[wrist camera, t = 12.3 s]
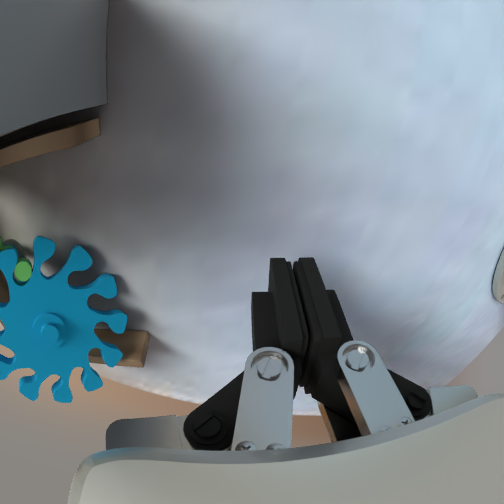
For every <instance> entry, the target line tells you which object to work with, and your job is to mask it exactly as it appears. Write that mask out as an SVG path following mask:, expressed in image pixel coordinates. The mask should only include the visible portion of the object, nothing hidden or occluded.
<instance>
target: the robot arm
mask: <svg viewBox="0 0 504 504" xmlns="http://www.w3.org/2000/svg"><path fill="white" fill-rule="evenodd" d="M492 291H493V294H494V296H495V297H496V299H497V300H498V301H499V302H500V303H504V250H503V252H502V254H501V256H500V259H499V262H498V264H497V267H496V271H495V274H494V279H493V290H492ZM251 315H252V340H253V352H252V353H251V354H250V355H249V357H248V358H247V361H246V364H245V370H244V371H243V372H242V373H241V374H239V375H238V376H237V377H236V378H235V379H233V380H232V381H231V382H230V383H228V384H227V385H226V386H225V387H223V388H222V389H221V390H220V391H218V392H217V393H216V394H215V395H213V396H212V397H211V398H209V399H208V400H207V401H206V402H204V403H203V404H202V405H200V406H199V407H198V408H196V409H195V410H194V411H193V412H191V413H190V414H189V415H186V416H178V417H176V415H169V416H159V417H149V418H136V419H121V420H117V421H115V422H113V423H112V424H110V426H109V427H108V429H107V431H106V451H101V452H98V453H95V454H92V455H90V456H88V457H87V458H85V459H84V460H83V461H82V462H81V464H80V465H79V467H78V469H77V471H76V473H75V475H74V478H73V481H72V485H71V488H70V493H69V498H68V504H504V394H489V395H484V396H481V397H478V395H477V393H476V391H475V390H474V389H473V388H472V387H470V386H469V385H459V386H447V387H431V388H429V389H428V390H425V389H424V388H422V387H421V386H419V385H417V384H415V383H413V382H411V381H409V380H407V379H405V378H404V377H402V376H400V375H398V374H396V373H394V372H392V371H391V370H389V369H387V368H386V366H385V365H384V363H383V361H382V359H381V358H380V356H379V354H378V352H377V351H376V350H375V349H374V347H372V346H371V345H370V344H368V343H366V342H363V341H357V340H355V341H353V338H352V335H351V332H350V329H349V327H348V324H347V321H346V319H345V316H344V313H343V311H342V308H341V305H340V303H339V300H338V298H337V295H336V293H335V291H334V290H326V289H325V286H324V283H323V281H322V278H321V275H320V273H319V270H318V267H317V265H316V262H315V259H314V258H299V260H298V261H294V263H293V269H292V266H291V262H286V260H285V258H271V259H270V270H269V286H268V292H252V303H251ZM298 385H299V386H300V387H304V390H305V394H310V393H311V395H312V398H314V399H316V400H317V401H318V407H319V410H320V412H321V415H322V418H323V421H324V423H325V426H326V429H327V431H328V434H329V437H330V440H331V442H332V443H326V444H320V445H313V446H306V447H296V448H291V433H292V432H291V431H292V413H293V400H294V398H295V395H296V392H297V388H298Z"/></svg>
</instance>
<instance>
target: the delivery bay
mask: <svg viewBox="0 0 504 504" xmlns="http://www.w3.org/2000/svg"><path fill="white" fill-rule="evenodd" d="M98 135H100V126H99V118H97V119H92V120H88V121H83V122H79V123H75V124H71V125H67V126H63V127H60V128H56V129H53V130H49V131H46V132H43V133H39V134H36V135H33V136H30V137H27V138H24V139H22V140H19V141H16V142H13V143H11V144H8V145H5V146H3V147H0V167H2V166H5V165H8V164H11V163H14V162H18V161H21V160H24V159H28V158H31V157H35V156H38V155H42V154H46V153H50V152H54V151H58V150H62V149H66V148H71V147H75V146H77V145H79V144H81V143H83V142H85V141H87V140H89V139H92V138H94V137H96V136H98ZM9 300H10V295H9V287H8V283H7V280H6V278H5V275H4V274H3V272H2V270H1V269H0V302H1V303H7V302H8V301H9ZM0 322H1V323H2V325H3V327H4V328H5V326H4V324H3V322H2V321H1V319H0ZM94 333H95V334H96V335H97V337H98V338H100V339H101V340H102V341H104V342H107V343H111V344H114V345H116V346H117V347H118V349H119V350H120V351H121V352H122V354H123V356H122V358H121V359H120V361H119V362H118V363H117V364H116V365H118V366H130V367H144V364H145V359H146V353H147V348H148V343H149V336H148V333H147V331H128V330H125V331H124V332H123V333H121V334H118V333H115V332H113V331H112V330H108V329H94ZM88 359H89V362H90V363H99V364H106V363H105V362H104V360H103V359H102V357H101V354H100V349H99V348H93V349H91V350H90V351H89V353H88Z"/></svg>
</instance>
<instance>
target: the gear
mask: <svg viewBox="0 0 504 504" xmlns="http://www.w3.org/2000/svg"><path fill="white" fill-rule="evenodd" d="M33 251H34V265H33V269H32V265H31V262H30V261H29V260H28V259H27V258H26V257H25V255H24V253H23V250H22V248H21V246H20V244H19V243H18V242H17V241H15V240H13V239H7V240H5V241H4V242H2V240H1V237H0V269H1V270H2V272H3V274H4V275H5V278H6V280H7V283H8V287H9V295H10V300H9V301H8V302H7V303H1V302H0V319H1V321H2V322H3V324H4V326H5V329H4V330H3V331H0V344H1V345H3V346H5V347H7V348H9V349H11V350H12V351H13V352H14V354H15V356H14V357H12V358H7V357H5V356H3V355H1V354H0V380H3V379H5V378H6V377H7V376H8V374H10V373H11V372H12V371H14V370H16V369H20V368H31V369H33V370H34V371H35V374H34V375H32V376H25V377H22V378H21V379H20V380H19V391H20V392H21V393H22V394H23V395H24V396H25V397H27V398H28V399H30V400H32V401H34V400H36V399H37V398H38V391H39V387H40V385H41V383H42V382H43V381H44V380H45V379H46V378H47V377H49V376H50V375H52V374H56V375H59V376H60V379H59V380H58V381H57V382H55V383H54V384H53V386H52V393H53V397H54V400H55V401H58V402H63V403H70V402H71V401H72V394H71V391H70V388H69V377H70V374H71V371H72V370H73V369H74V368H75V367H82V368H84V369H83V372H82V375H81V381H82V383H83V385H84V388H85V389H86V390H87V391H94V390H96V389H98V388H100V387H102V385H103V383H102V380H101V378H100V377H99V375H98V373H97V372H96V371H95V370H93V369H92V368H91V367H90V364H89V359H88V353H89V351H90V350H91V349H93V348H99V349H100V354H101V357H102V359H103V360H104V362H105V363H106V365H108V366H109V367H114V366H115V365H116V364H117V363H118V362H119V361H120V359H121V358H122V356H123V354H122V352H121V351H120V350H119V349H118V347H117V346H116V345H114V344H111V343H107V342H104V341H102V340H101V339H100V338H98V337H97V335H96V334H95V333H94V327H95V325H96V324H97V323H98V322H106V323H107V324H108V326H109V327H110V328H111V329H112V331H113V332H115V333H118V334H121V333H123V332H124V331H125V328H126V324H127V315H126V314H124V313H123V312H122V311H121V310H119V309H113V310H110V311H99V310H96V309H93V308H91V307H89V306H88V305H87V299H88V297H89V296H90V295H92V294H99V295H101V296H103V297H105V298H113V297H115V296H116V295H117V287H116V283H115V280H114V278H113V276H112V275H110V274H108V273H104V274H101V275H100V276H99V277H98V278H97V279H96V280H94V281H93V282H91V283H89V284H87V285H83V286H71V285H70V284H68V276H69V274H70V273H71V272H73V271H83V270H86V269H88V268H89V267H90V266H91V264H92V262H93V261H92V259H91V257H90V255H89V254H88V253H87V252H86V251H85V250H84V249H83V248H82V247H81V246H79V245H76V246H75V247H73V248H72V249H71V251H70V254H69V257H68V260H67V262H66V263H65V265H64V266H63V267H62V268H61V269H60V270H59V271H58V272H57V273H55V274H54V275H52V276H50V277H46V276H44V275H43V274H42V273H41V271H40V267H41V265H42V263H43V262H44V261H46V260H47V259H49V258H50V257H51V256H52V255H53V254H54V251H55V243H54V242H53V241H52V240H50V239H48V238H45V237H42V236H37V237H36V238H35V240H34V243H33Z"/></svg>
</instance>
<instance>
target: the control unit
mask: <svg viewBox="0 0 504 504" xmlns="http://www.w3.org/2000/svg"><path fill="white" fill-rule="evenodd" d="M108 8H109V0H0V137H2V136H4V135H6V134H9V133H11V132H14V131H16V130H19V129H22V128H24V127H27V126H30V125H32V124H35V123H38V122H41V121H44V120H47V119H50V118H54V117H57V116H60V115H64V114H67V113H71V112H75V111H78V110H82V109H86V108H90V107H95V106H99V105H104V104H107V83H106V41H107V21H108Z"/></svg>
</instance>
